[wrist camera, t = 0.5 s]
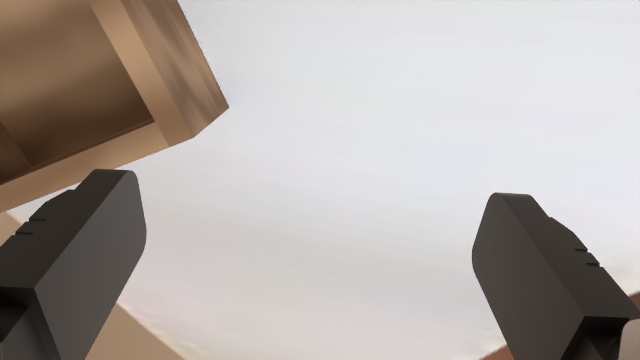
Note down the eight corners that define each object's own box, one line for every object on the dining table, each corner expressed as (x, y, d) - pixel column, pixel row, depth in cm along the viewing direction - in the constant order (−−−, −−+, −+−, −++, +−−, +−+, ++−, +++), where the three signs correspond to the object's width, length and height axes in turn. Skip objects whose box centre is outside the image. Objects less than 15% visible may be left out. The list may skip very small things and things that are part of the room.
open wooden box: (229, 107, 30) (193, 137, 24) (46, 180, 34) (-27, 223, 28) (97, -163, 24) (3, -219, 18) (-104, -37, 28) (-241, -46, 22)
